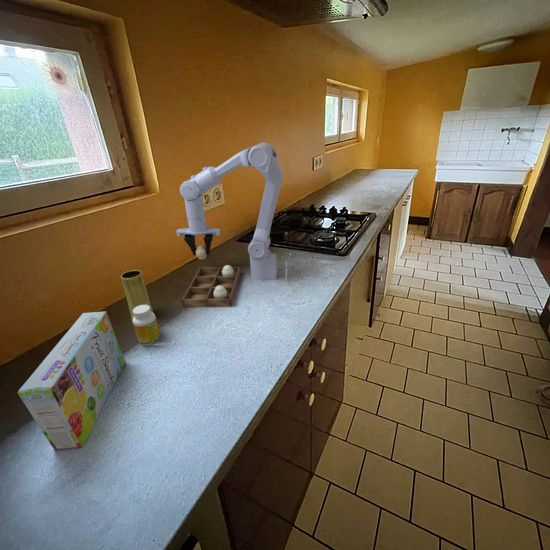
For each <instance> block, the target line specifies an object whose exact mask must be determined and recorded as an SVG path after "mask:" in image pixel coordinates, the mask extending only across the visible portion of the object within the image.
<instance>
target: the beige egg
mask: <svg viewBox="0 0 550 550" xmlns="http://www.w3.org/2000/svg"><path fill="white" fill-rule="evenodd" d="M195 253H196V255H195V256H196V257H197V258H198V259H199V260H205V259H206V258H207V256H208V255H207V254H206V246H205V244H204V245H203V244H198V245H197V246H196V251H195Z"/></svg>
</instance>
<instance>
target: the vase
mask: <svg viewBox="0 0 550 550" xmlns="http://www.w3.org/2000/svg"><path fill="white" fill-rule="evenodd" d="M120 279H121V282H122V286H123V291H124V292H125V296H126V301H127V304H128V309H129V312H130V316H131V317H130V318H131V321H132V322H133V318H134V314H133V309H134V308H135V307H137V306H140V305H148V306H150V309H151V312H153V313H154V310H153V308H152V304H151V301H150V299H149V295H148V291H147V286H146V283H145V280H144V276H143V273H142V271H141V270H140V269H132V270H131V269H130V270H128V271H124V272H123V273H122V274H121V275H120Z"/></svg>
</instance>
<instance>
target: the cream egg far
mask: <svg viewBox="0 0 550 550" xmlns="http://www.w3.org/2000/svg"><path fill="white" fill-rule="evenodd" d="M222 267H223V270H222V275H223V276H233V275H234V270H233V269H232V267H233V266H231V265H229V264H226V265H224V266H222Z"/></svg>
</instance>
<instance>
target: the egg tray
mask: <svg viewBox="0 0 550 550" xmlns="http://www.w3.org/2000/svg"><path fill="white" fill-rule="evenodd" d="M223 267H224V266H217V267H216V266H215V267H214V266H213V267H209V266H207V267H205V266H203V267H201V266H200V267H199V268H198V269H197V271H196V273H195V275H194V277H193V278H192V280H191V283H190V284H189V286H188V287H187V290H186V291H185V292H184V295H183V296H182V298H181V304H182V308H232V305H233V303H234V302H233V301H234V298H235V294H236V292H237V287H238V284H239V281H240V276H241V273H242V272H241V267H240V266H231V267H232V269H233V270H234V275H233V276H223V275H222V270H223ZM218 285H221V286H223V287H224V288H225V289H226V291H227V296H226V298H225V299H215V297H214V295H213V292H214V290H215V288H216V287H217V286H218Z"/></svg>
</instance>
